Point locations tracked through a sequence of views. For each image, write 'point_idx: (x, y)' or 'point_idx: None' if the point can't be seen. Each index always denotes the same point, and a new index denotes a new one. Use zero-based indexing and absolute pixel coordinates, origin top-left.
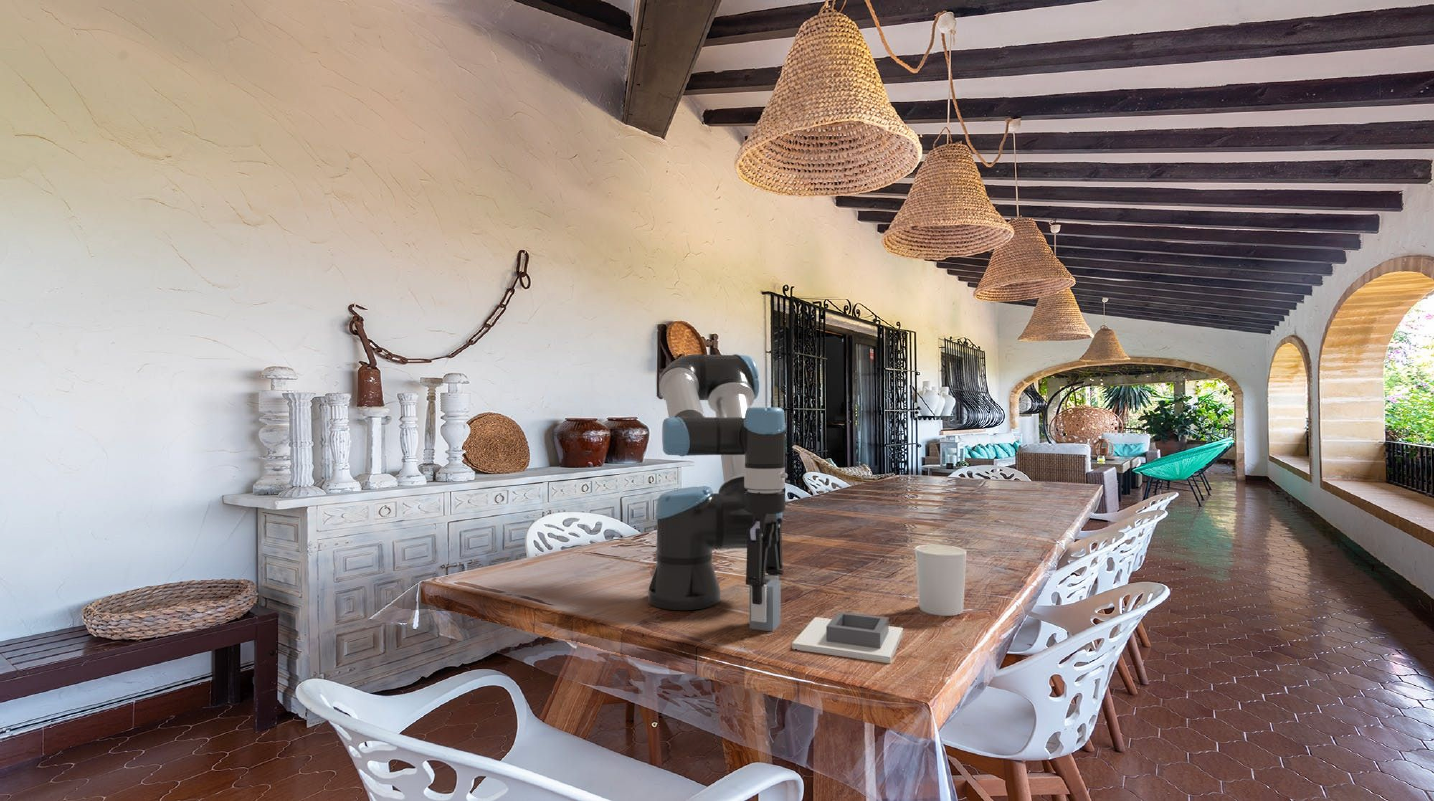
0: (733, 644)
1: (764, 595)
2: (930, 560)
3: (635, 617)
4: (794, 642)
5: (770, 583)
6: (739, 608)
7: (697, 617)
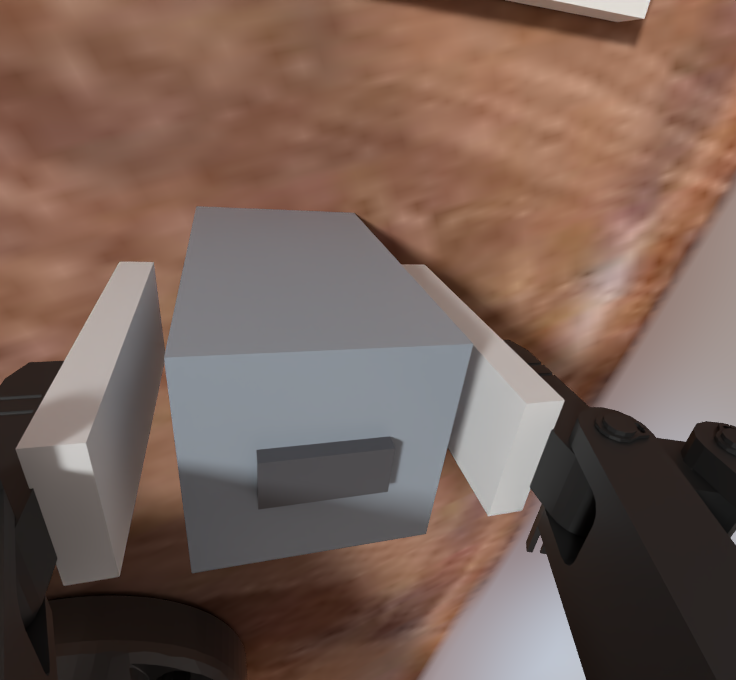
0: (559, 324)
1: (511, 354)
2: None
3: (355, 662)
4: (636, 3)
5: (336, 413)
6: None
7: (280, 559)
